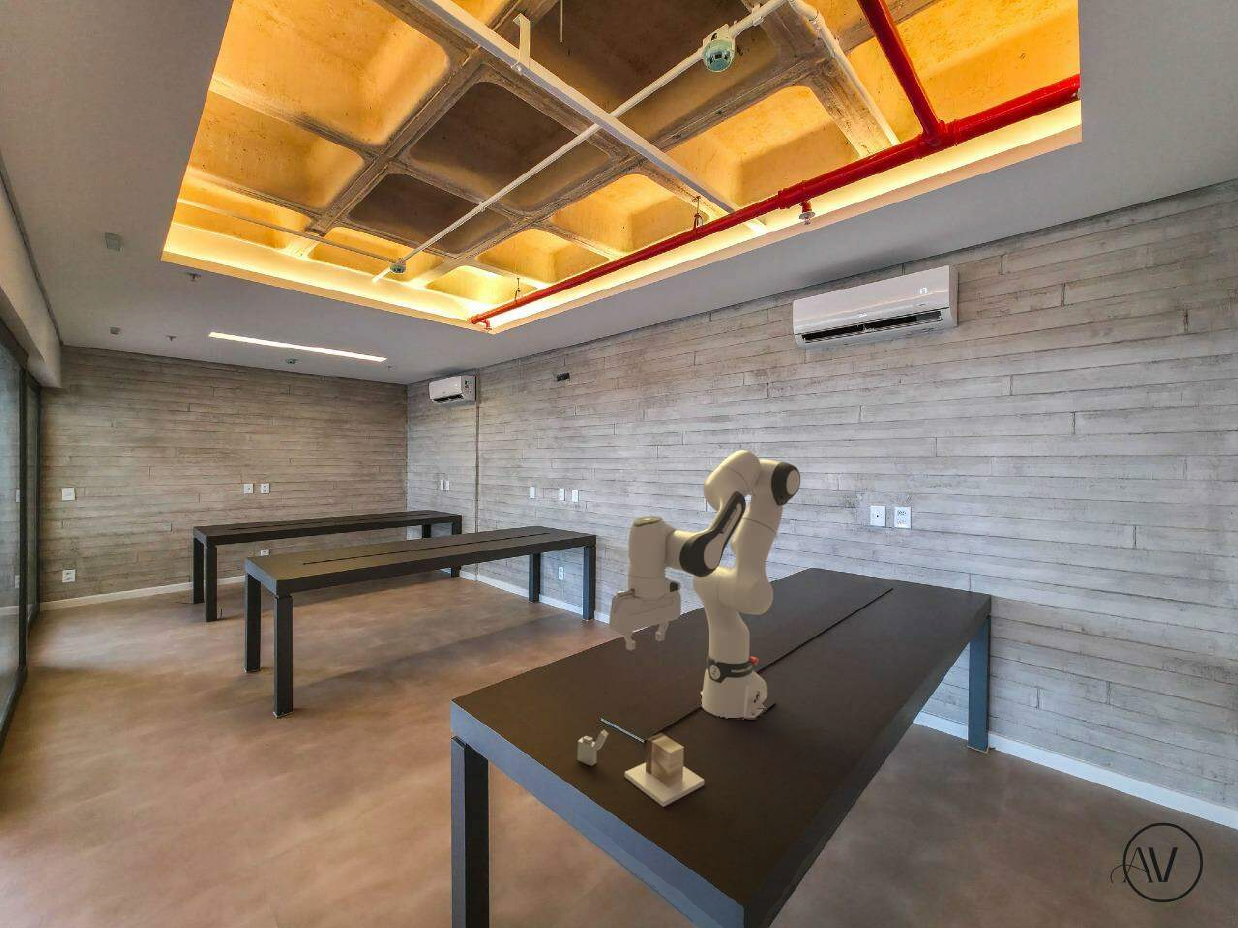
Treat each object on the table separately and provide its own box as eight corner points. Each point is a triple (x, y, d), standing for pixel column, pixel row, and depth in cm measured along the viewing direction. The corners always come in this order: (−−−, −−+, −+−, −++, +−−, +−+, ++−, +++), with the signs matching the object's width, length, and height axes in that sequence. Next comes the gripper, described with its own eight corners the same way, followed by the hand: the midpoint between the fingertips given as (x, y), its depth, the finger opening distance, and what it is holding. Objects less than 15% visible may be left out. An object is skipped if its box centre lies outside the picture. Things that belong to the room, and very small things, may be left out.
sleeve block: (682, 780, 107) (684, 746, 107) (668, 787, 104) (669, 753, 104) (659, 764, 112) (661, 732, 113) (645, 770, 110) (647, 738, 110)
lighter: (577, 759, 115) (578, 724, 115) (581, 756, 116) (582, 721, 116) (603, 770, 111) (604, 733, 111) (607, 766, 113) (609, 730, 113)
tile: (664, 758, 117) (664, 753, 117) (704, 784, 107) (704, 779, 107) (624, 776, 109) (624, 771, 109) (663, 806, 100) (663, 801, 100)
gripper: (621, 595, 111) (620, 659, 111) (685, 582, 124) (684, 638, 124) (603, 590, 116) (602, 650, 116) (667, 577, 129) (666, 631, 129)
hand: (645, 644), depth 120 cm, fingers open, 8 cm apart
